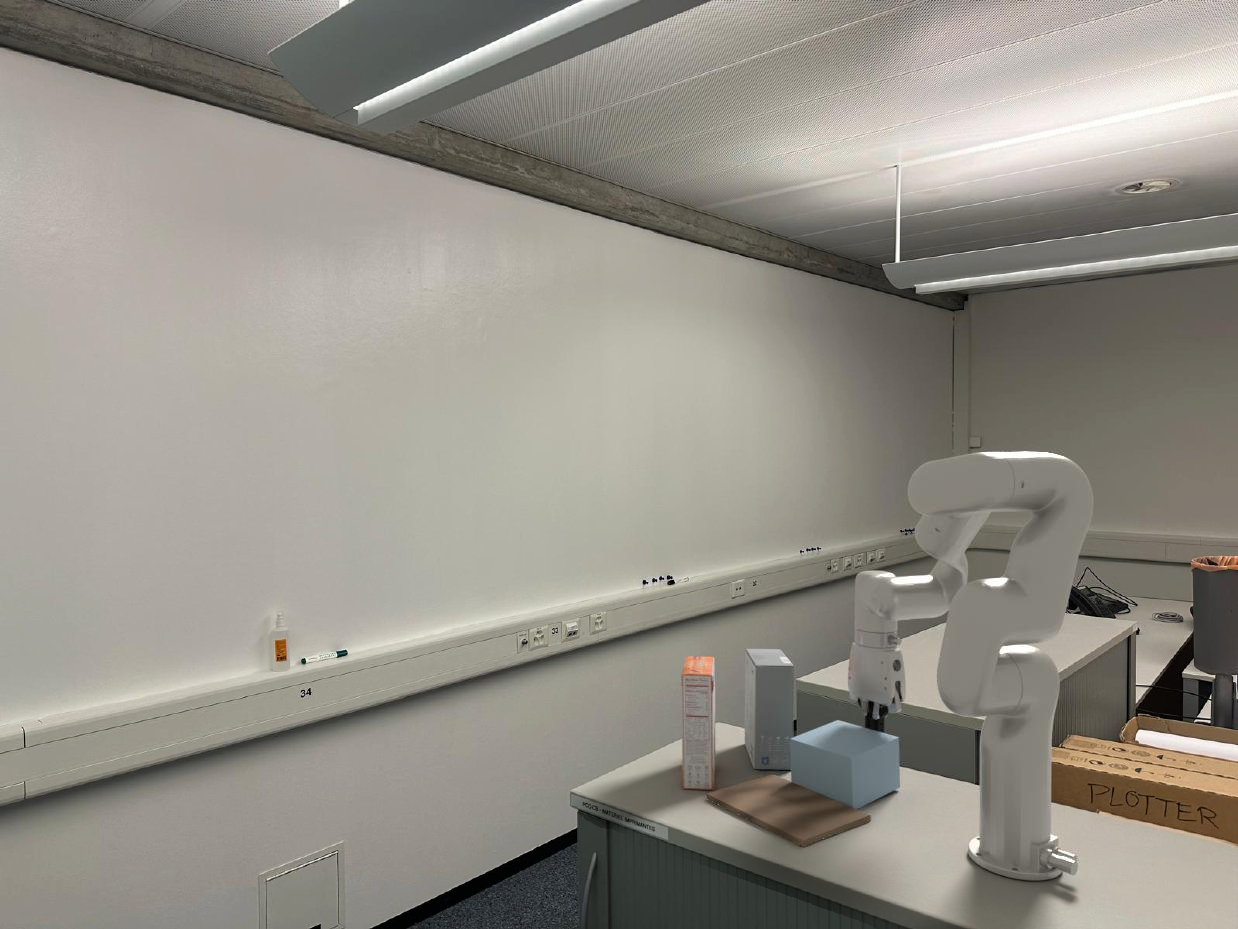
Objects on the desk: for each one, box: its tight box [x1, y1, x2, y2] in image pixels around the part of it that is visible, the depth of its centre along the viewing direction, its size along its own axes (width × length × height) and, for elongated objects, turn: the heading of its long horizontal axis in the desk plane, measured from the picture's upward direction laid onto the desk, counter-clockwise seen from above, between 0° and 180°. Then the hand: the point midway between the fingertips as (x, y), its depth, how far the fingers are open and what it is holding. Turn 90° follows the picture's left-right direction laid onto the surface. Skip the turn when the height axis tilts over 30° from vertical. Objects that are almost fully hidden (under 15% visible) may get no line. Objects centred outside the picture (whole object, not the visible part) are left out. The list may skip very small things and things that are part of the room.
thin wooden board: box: [706, 773, 872, 848], centre depth 142 cm, size 22×16×1 cm
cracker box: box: [681, 655, 716, 791], centre depth 157 cm, size 14×6×21 cm, turn 172°
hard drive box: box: [744, 648, 795, 771], centre depth 168 cm, size 16×8×20 cm, turn 179°
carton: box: [790, 719, 901, 810], centre depth 151 cm, size 13×14×9 cm
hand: (874, 737), depth 156 cm, fingers closed
